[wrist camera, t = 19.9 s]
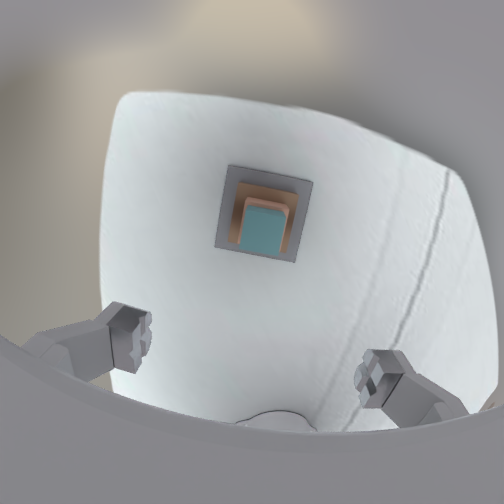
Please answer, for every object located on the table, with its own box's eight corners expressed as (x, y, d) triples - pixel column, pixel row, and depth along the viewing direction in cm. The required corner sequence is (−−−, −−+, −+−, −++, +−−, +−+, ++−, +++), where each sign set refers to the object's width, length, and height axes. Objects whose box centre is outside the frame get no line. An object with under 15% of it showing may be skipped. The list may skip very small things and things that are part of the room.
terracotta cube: (277, 241, 37) (280, 251, 32) (240, 233, 36) (237, 243, 32) (285, 204, 35) (289, 209, 30) (247, 196, 35) (245, 200, 30)
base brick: (284, 247, 40) (286, 253, 37) (230, 236, 40) (227, 241, 37) (296, 193, 38) (299, 194, 35) (240, 181, 37) (238, 182, 35)
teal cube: (276, 245, 32) (278, 256, 28) (241, 239, 31) (238, 248, 28) (283, 211, 30) (286, 217, 27) (248, 204, 30) (245, 209, 27)
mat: (294, 261, 41) (294, 262, 40) (215, 246, 41) (214, 247, 40) (312, 182, 38) (313, 182, 37) (229, 165, 37) (228, 165, 37)
